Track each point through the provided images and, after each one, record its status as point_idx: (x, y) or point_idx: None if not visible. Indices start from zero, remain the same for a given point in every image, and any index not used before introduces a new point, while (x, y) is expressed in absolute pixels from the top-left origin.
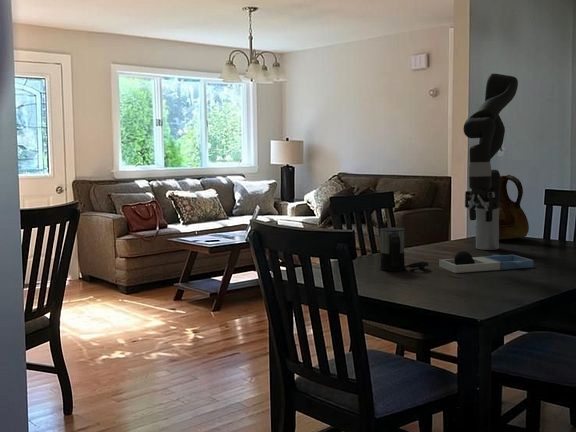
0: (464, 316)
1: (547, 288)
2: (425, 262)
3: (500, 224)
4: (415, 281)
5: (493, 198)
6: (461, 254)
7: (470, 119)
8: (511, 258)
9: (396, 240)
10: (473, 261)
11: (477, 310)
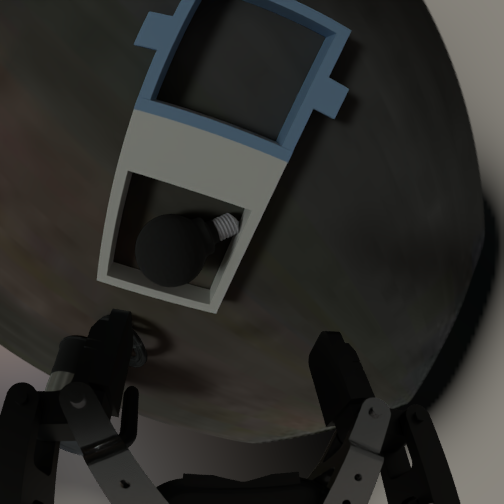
0: (393, 408)
1: (456, 265)
2: (143, 350)
3: None
4: (230, 391)
5: (427, 493)
6: (181, 284)
7: None
8: None
9: (131, 444)
10: (212, 238)
11: (398, 395)
